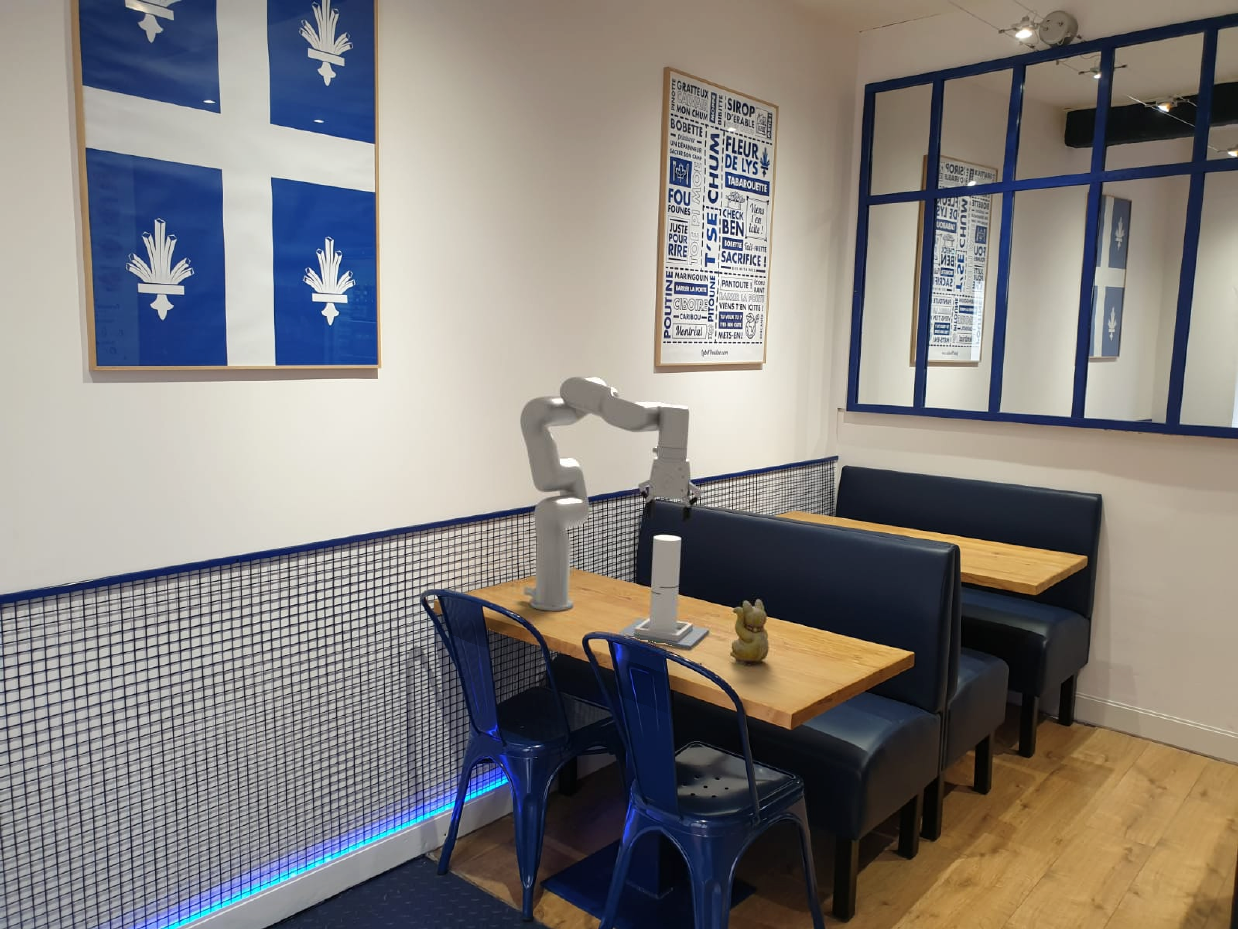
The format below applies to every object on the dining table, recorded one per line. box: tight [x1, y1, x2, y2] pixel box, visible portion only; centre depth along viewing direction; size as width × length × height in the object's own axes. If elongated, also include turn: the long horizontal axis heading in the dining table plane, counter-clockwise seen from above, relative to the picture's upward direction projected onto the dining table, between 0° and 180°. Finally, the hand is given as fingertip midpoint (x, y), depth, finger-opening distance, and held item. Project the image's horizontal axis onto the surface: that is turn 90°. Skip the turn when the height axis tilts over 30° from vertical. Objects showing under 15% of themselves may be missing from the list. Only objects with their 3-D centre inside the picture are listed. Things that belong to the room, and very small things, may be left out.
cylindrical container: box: [649, 534, 682, 634], centre depth 246 cm, size 7×7×25 cm
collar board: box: [618, 617, 710, 651], centre depth 247 cm, size 20×16×2 cm
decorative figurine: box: [729, 599, 770, 666], centre depth 228 cm, size 10×8×15 cm
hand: (668, 519), depth 244 cm, fingers open, 9 cm apart
